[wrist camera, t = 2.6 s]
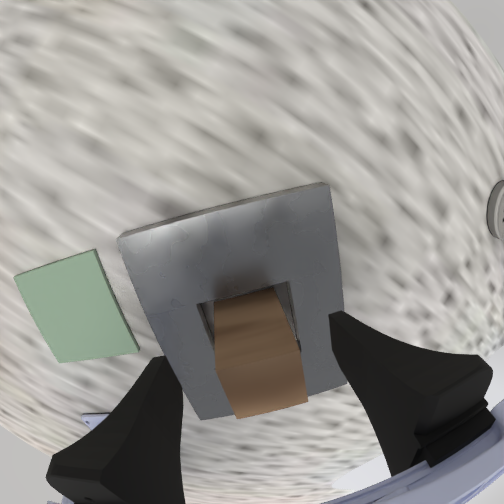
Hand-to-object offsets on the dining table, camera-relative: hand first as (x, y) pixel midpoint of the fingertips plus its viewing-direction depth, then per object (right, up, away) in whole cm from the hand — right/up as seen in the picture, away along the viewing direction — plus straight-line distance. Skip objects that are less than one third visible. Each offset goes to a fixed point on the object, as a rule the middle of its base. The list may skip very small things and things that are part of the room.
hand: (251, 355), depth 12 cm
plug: (0, -1, +10) cm, 10 cm away
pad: (-15, -1, +8) cm, 17 cm away
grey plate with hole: (0, -1, +10) cm, 10 cm away
